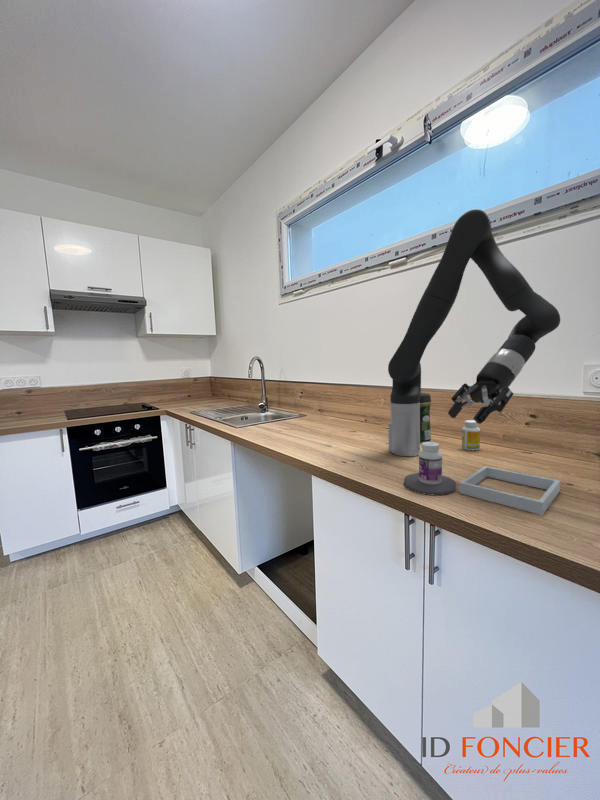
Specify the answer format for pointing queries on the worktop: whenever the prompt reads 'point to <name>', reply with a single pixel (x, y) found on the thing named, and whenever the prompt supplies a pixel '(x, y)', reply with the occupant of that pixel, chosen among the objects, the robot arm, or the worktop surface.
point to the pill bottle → (430, 464)
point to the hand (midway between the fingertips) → (463, 418)
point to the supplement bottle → (471, 435)
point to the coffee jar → (425, 417)
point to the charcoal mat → (442, 488)
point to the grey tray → (509, 499)
